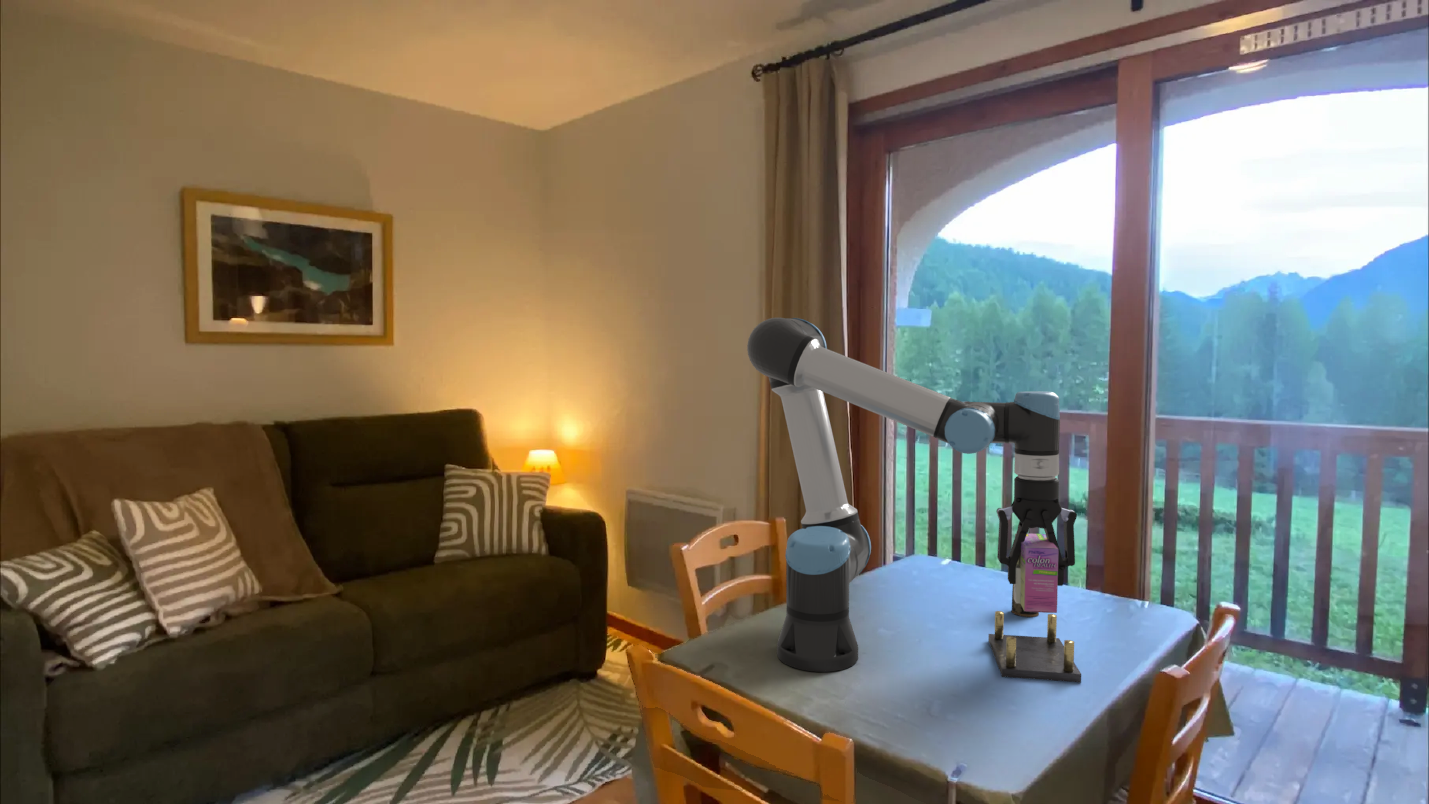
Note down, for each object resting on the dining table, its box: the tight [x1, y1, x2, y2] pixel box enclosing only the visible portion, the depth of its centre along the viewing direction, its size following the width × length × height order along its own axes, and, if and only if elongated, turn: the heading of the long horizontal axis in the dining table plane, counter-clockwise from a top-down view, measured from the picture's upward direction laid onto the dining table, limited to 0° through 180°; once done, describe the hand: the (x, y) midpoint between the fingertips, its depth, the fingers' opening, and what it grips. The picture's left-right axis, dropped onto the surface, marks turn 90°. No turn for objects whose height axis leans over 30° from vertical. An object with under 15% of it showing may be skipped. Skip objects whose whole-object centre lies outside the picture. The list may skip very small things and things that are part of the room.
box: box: [1014, 533, 1058, 614], centre depth 146 cm, size 10×6×12 cm, turn 169°
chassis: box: [987, 610, 1082, 684], centre depth 147 cm, size 13×17×6 cm
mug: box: [1011, 584, 1040, 618], centre depth 174 cm, size 8×6×12 cm
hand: (1035, 601), depth 146 cm, fingers closed on box, 6 cm apart
